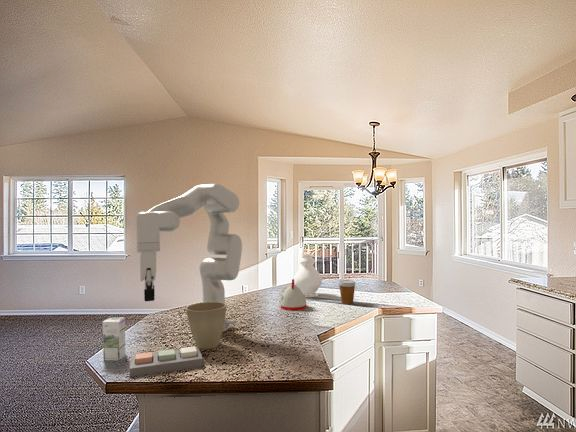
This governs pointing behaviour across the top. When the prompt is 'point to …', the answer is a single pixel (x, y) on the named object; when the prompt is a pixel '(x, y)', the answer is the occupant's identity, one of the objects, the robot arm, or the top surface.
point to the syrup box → (114, 338)
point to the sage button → (166, 355)
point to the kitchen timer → (293, 298)
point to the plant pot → (206, 323)
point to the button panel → (165, 364)
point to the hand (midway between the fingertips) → (149, 298)
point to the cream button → (188, 352)
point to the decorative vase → (308, 277)
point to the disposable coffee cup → (347, 291)
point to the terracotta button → (143, 358)
